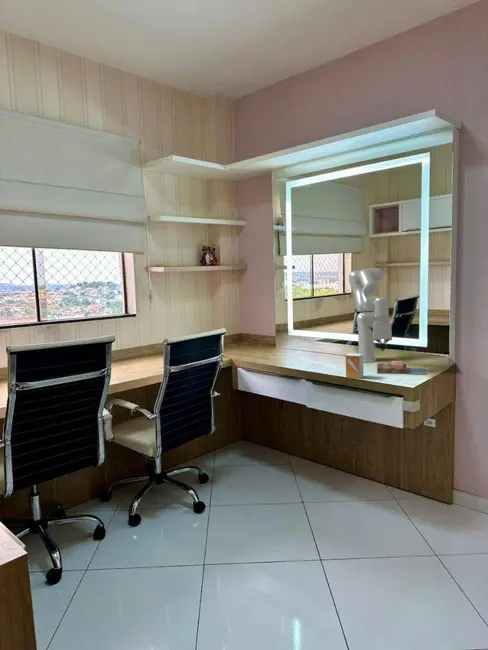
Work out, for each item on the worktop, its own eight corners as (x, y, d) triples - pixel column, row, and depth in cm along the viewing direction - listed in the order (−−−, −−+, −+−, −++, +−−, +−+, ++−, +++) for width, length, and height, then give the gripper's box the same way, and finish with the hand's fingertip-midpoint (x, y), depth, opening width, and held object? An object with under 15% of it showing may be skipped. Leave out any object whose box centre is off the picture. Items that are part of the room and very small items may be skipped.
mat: (407, 374, 243) (407, 373, 243) (405, 368, 257) (405, 367, 257) (426, 374, 240) (426, 374, 240) (423, 368, 254) (423, 367, 254)
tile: (391, 367, 248) (391, 364, 247) (391, 364, 256) (391, 360, 256) (403, 367, 246) (403, 364, 246) (402, 364, 254) (402, 361, 254)
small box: (345, 377, 243) (345, 355, 242) (349, 375, 249) (349, 352, 247) (360, 379, 239) (359, 355, 237) (363, 376, 244) (363, 353, 242)
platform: (377, 373, 249) (377, 368, 248) (377, 368, 261) (377, 363, 261) (407, 373, 244) (407, 368, 243) (405, 368, 256) (405, 363, 256)
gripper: (368, 320, 249) (369, 351, 250) (395, 319, 244) (396, 351, 246) (368, 318, 256) (369, 349, 257) (395, 318, 251) (396, 349, 253)
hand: (382, 350), depth 252 cm, fingers closed
